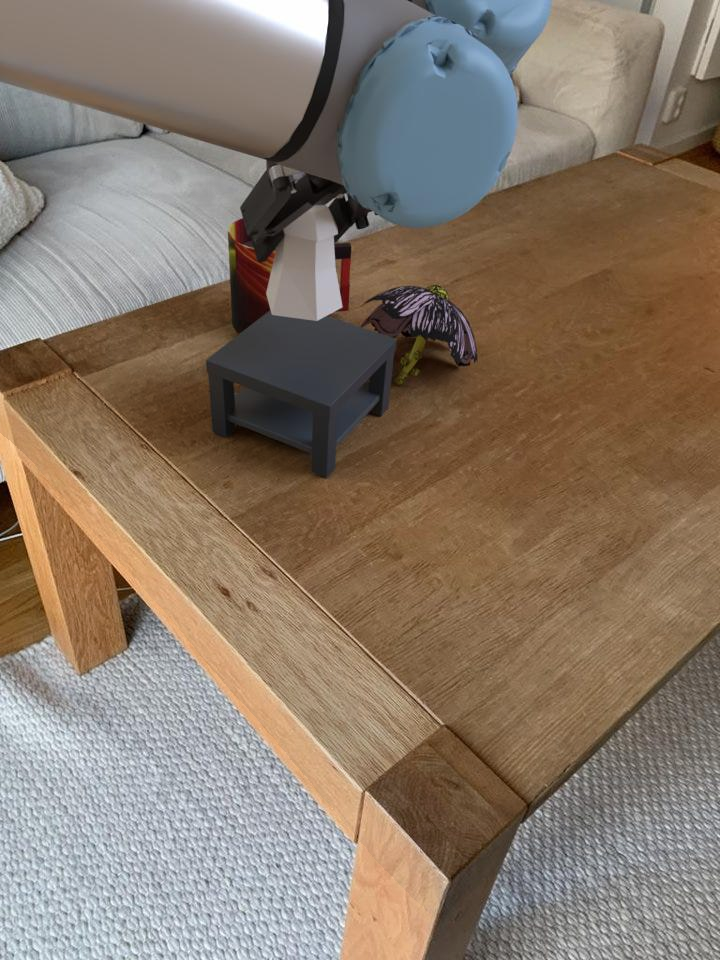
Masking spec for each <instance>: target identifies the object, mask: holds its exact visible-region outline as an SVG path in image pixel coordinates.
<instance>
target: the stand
mask: <svg viewBox="0 0 720 960" xmlns="http://www.w3.org/2000/svg"><path fill="white" fill-rule="evenodd" d="M397 341H398V340H397V338H396V337H395V338H392V337H389V336H386V335H383V334H380V333H378V331H375V330H371V329H368V328H366V327H363V328H362V327H360V326H359V325H356V324H353V323H350V322H347V321H345V320H341V319H339V318H335V317H332V316H329V315H327V316H325V317H324V318H322V319H320V320H318V321H313V320H306V319H299V318H291V317H284V316H277V315H272V313H271V310H270V311H269V312H267V313H266V314H265V315H263V316H262V317H261V318H260V319H258V320H257V321H256V322H254V323H253V324H252V325H250V326H249V327H248V328H247V329H245V330H244V331H243V332H241V333H240V334H238V335H236V336H235V337H233V338H232V339H231V340H230V341H228V342H227V343H226V344H224V345H223V346H222V347H221V348H219V349H218V350H216V352H214V353H213V354H212V355H210V356H209V357H208V358H206V359H205V366H206V367H205V368H206V369H205V370H206V373H207V376H208V377H207V379H208V391H209V405H210V418H211V419H210V420H211V431H212V433H213V434H216V435H218V436H221V437H223V438H228V437H229V436H230V435H231V434H233V433H234V432H235V431H236V430H237V425H238V426H241V427H244V428H245V429H249V430H250V431H254V432H256V433H258V434H261V435H263V436H266V437H268V438H271V439H274V440H276V441H279V442H280V443H283V444H286V445H289V446H291V447H293V448H296V449H298V450H301V451H303V452H306V453H309V454H311V461H310V462H311V465H310V473H313V474H314V475H317V476H320V477H321V478H325V479H327V478H328V477H329V476H330V475H331V474H332V473H333V472H334V471H335V469H336V458H337V457H336V456H337V447H338V446H340V444H341V443H342V442H343V441H344V440H345V439H346V438H347V436H349V434H350V433H351V432H352V431H354V429H355V428H356V427H357V426H358V425H359V423H361V421H363V419H364V418H365V417H366V416H367V415H368V414H369V413H370V414H373V415H375V416H377V417H382V416H383V415H384V414H385V413H386V412H387V411H388V410H389V406H390V405H389V404H390V396H391V387H392V386H391V385H392V379H393V378H392V377H393V369H394V368H393V367H394V358H395V352H396V351H397ZM368 380H369V381H368ZM235 384H236V385H238V386H241V387H242V388H241V389H239V390H238V391H237V392H236V393H235Z"/></svg>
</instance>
